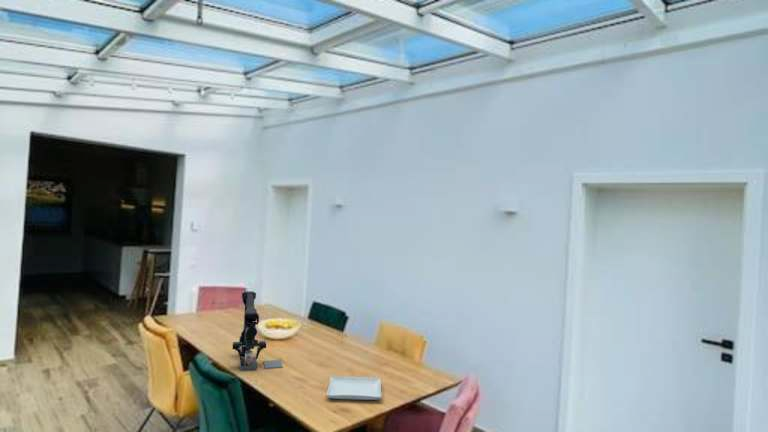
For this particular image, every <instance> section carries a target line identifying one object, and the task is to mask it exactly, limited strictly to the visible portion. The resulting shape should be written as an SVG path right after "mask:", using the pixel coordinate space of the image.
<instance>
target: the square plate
mask: <svg viewBox="0 0 768 432" xmlns="http://www.w3.org/2000/svg"><path fill="white" fill-rule="evenodd" d="M381 381H382V379H381V378H380V377H366V376H365V377H363V376H330V378H329V385H328V387H327V391H326V396H327V397H328V398H329V399H335V400H354V401H355V400H357V401H373V400H375V401H376V400H380V399H381V398H382V396H383V394H382V388H381V387H382V386H381Z"/></svg>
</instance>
